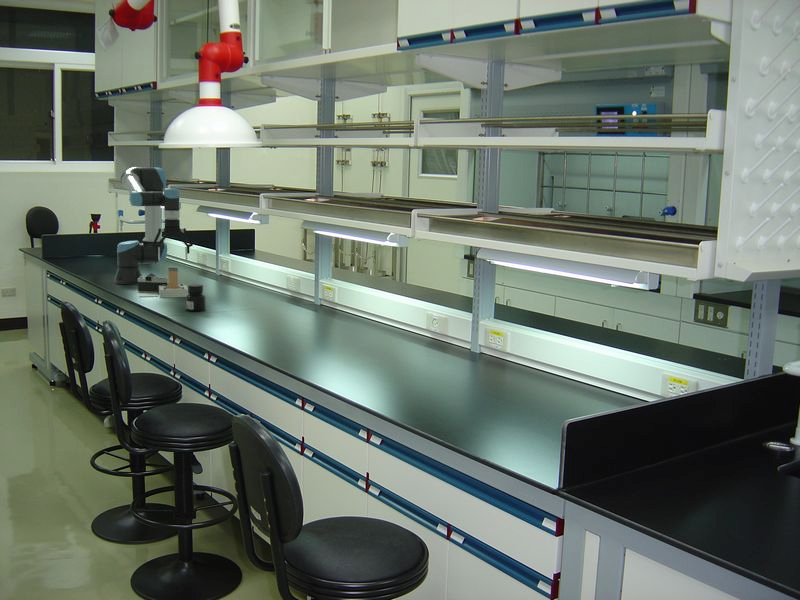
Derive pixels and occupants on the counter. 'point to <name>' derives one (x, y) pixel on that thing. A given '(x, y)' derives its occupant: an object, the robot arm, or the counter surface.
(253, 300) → the counter surface
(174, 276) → the plug
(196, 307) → the ink bottle
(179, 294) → the frame
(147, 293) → the mat
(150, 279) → the camera
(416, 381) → the counter surface
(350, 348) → the counter surface
